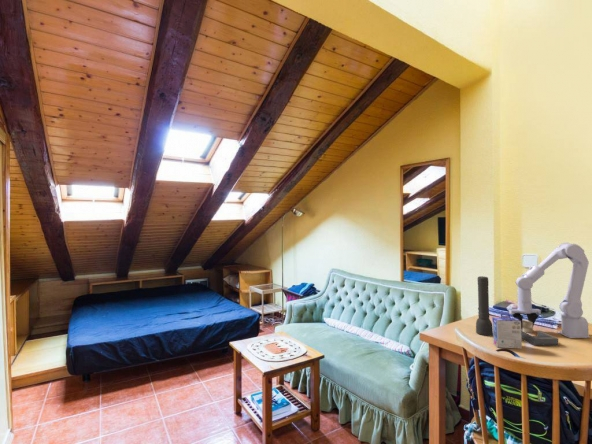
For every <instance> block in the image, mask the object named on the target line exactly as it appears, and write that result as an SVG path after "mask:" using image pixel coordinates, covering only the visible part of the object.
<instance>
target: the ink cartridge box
mask: <svg viewBox="0 0 592 444" xmlns="http://www.w3.org/2000/svg"><path fill="white" fill-rule="evenodd" d="M499 314H500V317H499V316H498V317H497V316H496V317H491V318H492V328H493V335H492V336H493V340H492V341H493V345H494V346H496V348H501V349H503V348H504V349H519V350H521V349H523V346H522V345H523V344H522V343H523V342H522V341H523V340H522V339H521V321H520V320H519V319H517V318H514V317H511V316H510V315H511V314H510V313H509V312H500V313H499Z"/></svg>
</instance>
